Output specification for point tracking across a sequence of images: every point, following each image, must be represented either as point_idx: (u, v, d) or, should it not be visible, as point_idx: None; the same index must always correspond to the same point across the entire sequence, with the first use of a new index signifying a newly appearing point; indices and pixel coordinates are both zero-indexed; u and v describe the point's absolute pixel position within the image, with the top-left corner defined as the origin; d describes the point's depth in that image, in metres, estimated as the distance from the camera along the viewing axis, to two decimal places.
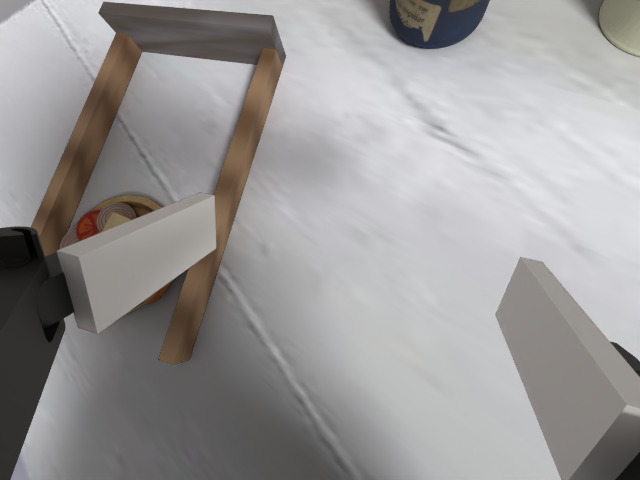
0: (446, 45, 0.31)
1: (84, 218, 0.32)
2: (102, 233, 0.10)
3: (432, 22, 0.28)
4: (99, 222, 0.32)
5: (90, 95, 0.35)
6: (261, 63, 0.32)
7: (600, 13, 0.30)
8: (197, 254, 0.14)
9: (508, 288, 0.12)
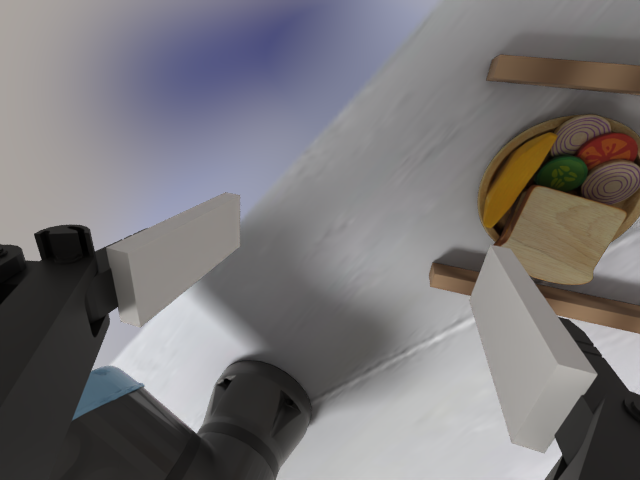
0: None
1: (626, 141, 0.23)
2: (143, 231, 0.10)
3: None
4: (613, 166, 0.24)
5: None
6: None
7: None
8: (223, 252, 0.14)
9: (480, 274, 0.13)
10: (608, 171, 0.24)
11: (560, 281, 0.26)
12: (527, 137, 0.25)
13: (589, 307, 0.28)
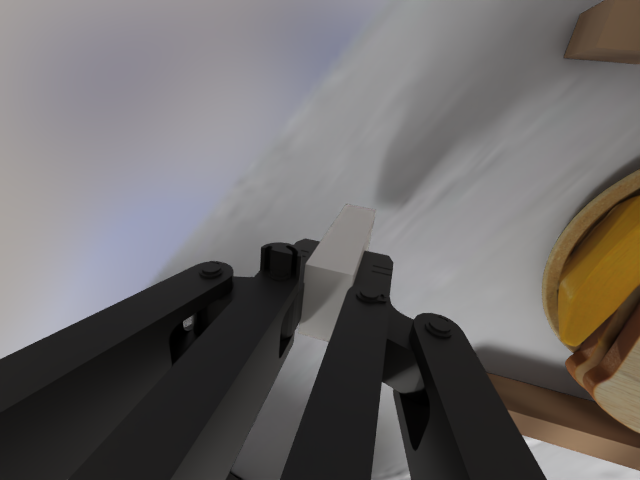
0: None
1: None
2: (319, 246, 0.11)
3: None
4: None
5: None
6: None
7: None
8: None
9: None
10: None
11: None
12: None
13: None
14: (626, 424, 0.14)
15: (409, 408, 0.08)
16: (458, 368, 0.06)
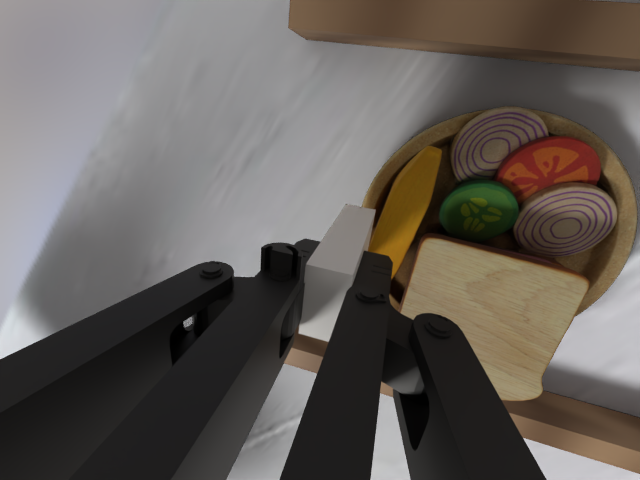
0: None
1: (577, 151, 0.13)
2: (320, 246, 0.11)
3: None
4: (560, 195, 0.13)
5: None
6: None
7: None
8: None
9: None
10: (553, 204, 0.14)
11: None
12: (412, 152, 0.15)
13: None
14: None
15: (409, 409, 0.08)
16: (458, 368, 0.06)
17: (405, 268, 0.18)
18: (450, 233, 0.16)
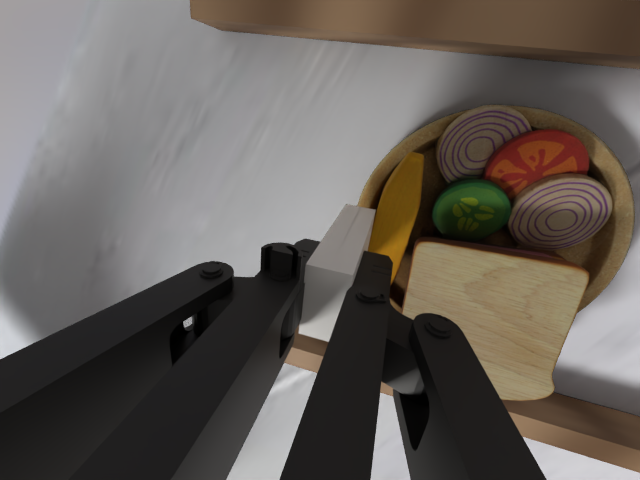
0: None
1: (562, 142, 0.13)
2: (320, 246, 0.11)
3: None
4: (551, 188, 0.13)
5: None
6: None
7: None
8: None
9: None
10: (545, 197, 0.14)
11: (499, 395, 0.15)
12: (398, 159, 0.15)
13: None
14: None
15: (409, 408, 0.08)
16: (458, 368, 0.06)
17: (405, 273, 0.18)
18: (445, 234, 0.16)
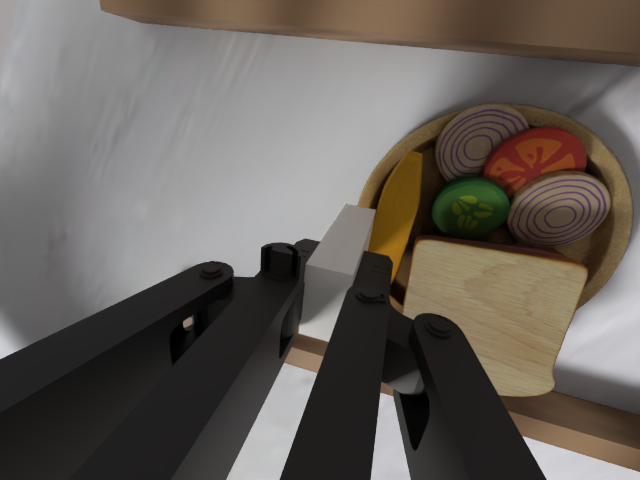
0: None
1: (559, 140, 0.13)
2: (320, 246, 0.11)
3: None
4: (549, 185, 0.13)
5: None
6: None
7: None
8: None
9: None
10: (543, 194, 0.14)
11: (500, 391, 0.15)
12: (398, 158, 0.15)
13: None
14: None
15: (409, 408, 0.08)
16: (458, 368, 0.06)
17: (406, 271, 0.18)
18: (445, 232, 0.16)
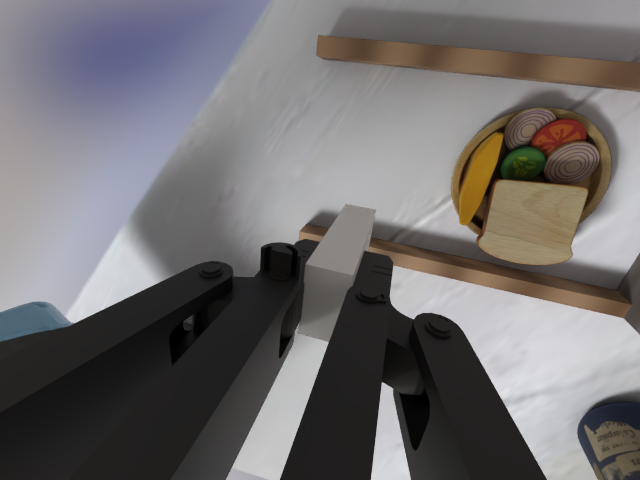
0: None
1: (572, 125, 0.25)
2: (319, 246, 0.11)
3: (593, 445, 0.33)
4: (567, 148, 0.26)
5: (635, 66, 0.22)
6: (607, 303, 0.29)
7: None
8: None
9: None
10: (564, 154, 0.26)
11: (542, 262, 0.27)
12: (482, 138, 0.28)
13: (423, 258, 0.32)
14: (497, 256, 0.28)
15: (409, 408, 0.08)
16: (458, 368, 0.06)
17: (480, 206, 0.30)
18: None
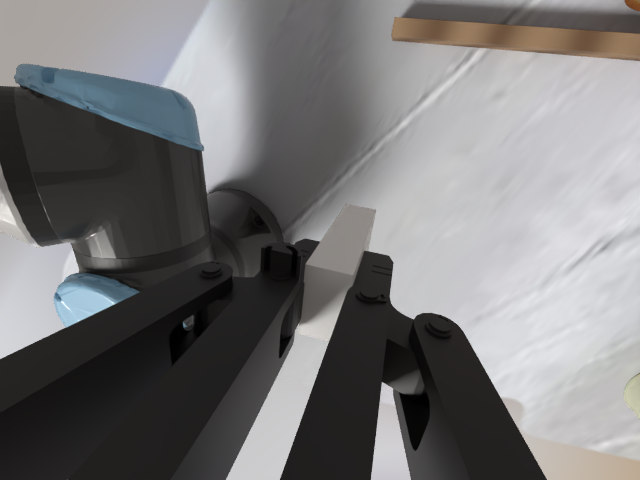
0: None
1: None
2: (319, 246, 0.11)
3: None
4: None
5: None
6: None
7: None
8: None
9: None
10: None
11: None
12: None
13: (548, 28, 0.27)
14: None
15: (409, 408, 0.08)
16: (458, 368, 0.06)
17: None
18: None
